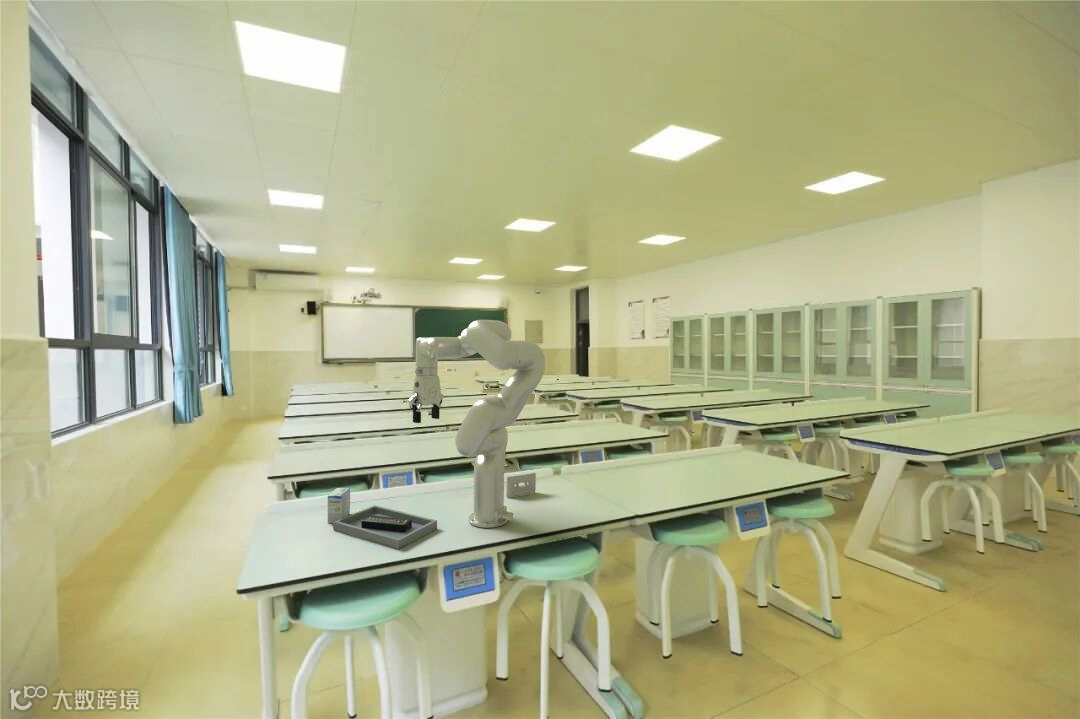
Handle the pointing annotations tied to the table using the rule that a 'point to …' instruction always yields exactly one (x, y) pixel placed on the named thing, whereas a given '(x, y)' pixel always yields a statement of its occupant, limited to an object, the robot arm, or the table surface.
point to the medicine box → (338, 504)
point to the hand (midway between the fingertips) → (426, 420)
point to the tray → (387, 538)
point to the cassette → (519, 490)
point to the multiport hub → (386, 523)
